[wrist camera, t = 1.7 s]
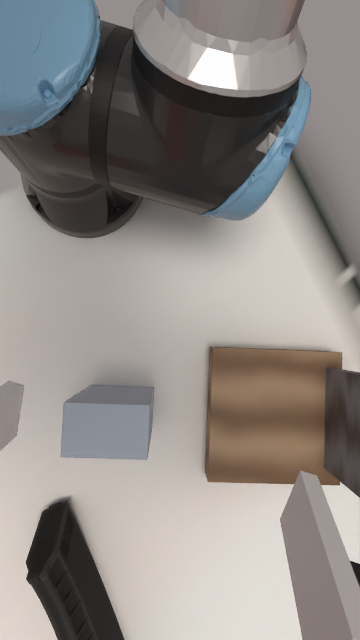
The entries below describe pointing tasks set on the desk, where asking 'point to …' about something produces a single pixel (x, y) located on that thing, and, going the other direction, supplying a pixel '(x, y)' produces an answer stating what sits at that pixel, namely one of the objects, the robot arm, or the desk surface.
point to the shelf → (282, 417)
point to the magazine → (69, 580)
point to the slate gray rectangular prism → (108, 423)
